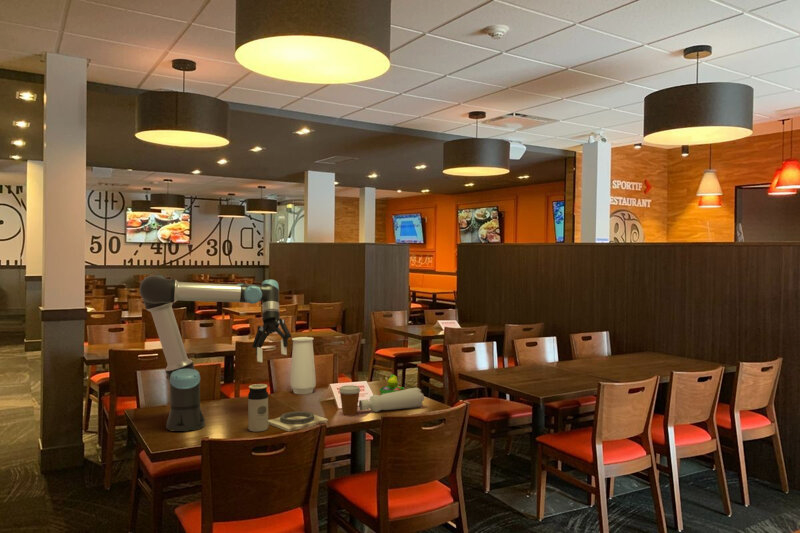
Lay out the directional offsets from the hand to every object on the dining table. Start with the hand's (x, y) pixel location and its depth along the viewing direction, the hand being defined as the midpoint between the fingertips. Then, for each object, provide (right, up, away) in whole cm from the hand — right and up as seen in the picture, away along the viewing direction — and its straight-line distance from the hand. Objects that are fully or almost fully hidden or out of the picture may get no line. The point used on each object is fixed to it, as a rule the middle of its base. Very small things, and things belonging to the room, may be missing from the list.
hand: (271, 358), depth 267 cm
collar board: (+12, -27, -5) cm, 30 cm away
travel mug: (-2, -27, -15) cm, 31 cm away
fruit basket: (+52, -26, +38) cm, 70 cm away
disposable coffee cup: (+33, -27, +9) cm, 43 cm away
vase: (+5, -26, +52) cm, 58 cm away
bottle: (+52, -26, +17) cm, 60 cm away
